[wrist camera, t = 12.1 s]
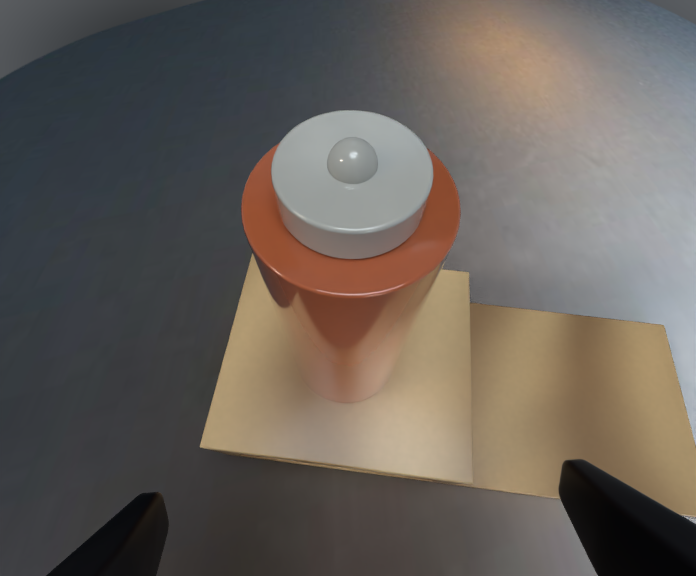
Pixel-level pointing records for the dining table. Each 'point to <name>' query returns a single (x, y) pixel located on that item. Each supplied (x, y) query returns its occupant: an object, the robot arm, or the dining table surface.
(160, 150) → the dining table surface
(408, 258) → the pepper mill
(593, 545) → the robot arm
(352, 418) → the stand
